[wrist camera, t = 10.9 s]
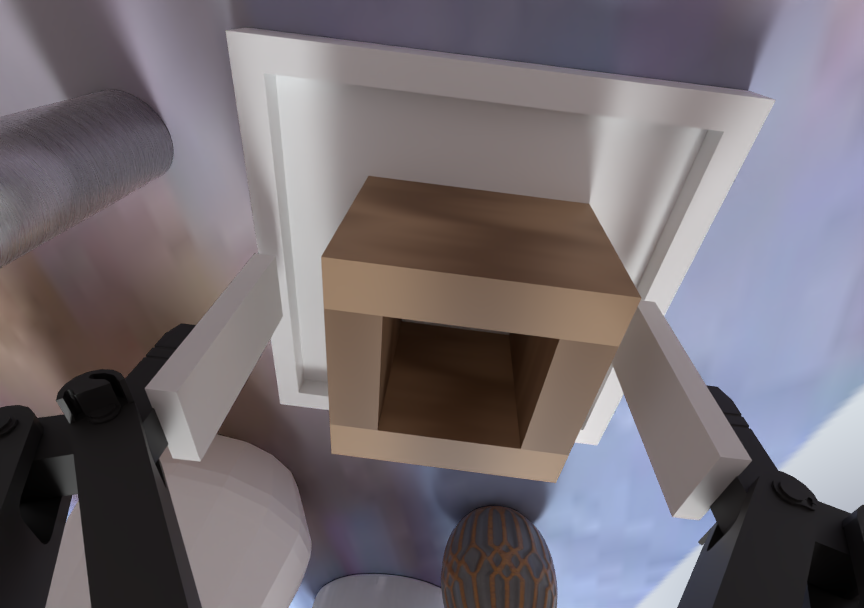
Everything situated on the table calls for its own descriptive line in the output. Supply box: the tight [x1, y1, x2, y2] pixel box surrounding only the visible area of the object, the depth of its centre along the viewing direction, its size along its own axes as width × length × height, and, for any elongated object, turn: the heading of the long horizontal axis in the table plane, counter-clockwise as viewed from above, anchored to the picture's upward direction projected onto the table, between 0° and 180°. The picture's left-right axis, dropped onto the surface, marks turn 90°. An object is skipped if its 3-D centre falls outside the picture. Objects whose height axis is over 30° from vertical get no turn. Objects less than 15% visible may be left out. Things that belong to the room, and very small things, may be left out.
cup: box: [45, 434, 312, 608], centre depth 23 cm, size 13×13×14 cm
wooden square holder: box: [321, 176, 641, 483], centre depth 16 cm, size 8×8×6 cm
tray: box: [225, 27, 775, 445], centre depth 18 cm, size 16×16×2 cm
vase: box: [441, 506, 557, 608], centre depth 26 cm, size 7×7×9 cm
